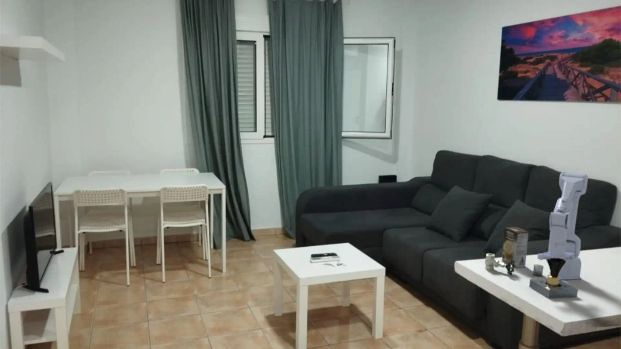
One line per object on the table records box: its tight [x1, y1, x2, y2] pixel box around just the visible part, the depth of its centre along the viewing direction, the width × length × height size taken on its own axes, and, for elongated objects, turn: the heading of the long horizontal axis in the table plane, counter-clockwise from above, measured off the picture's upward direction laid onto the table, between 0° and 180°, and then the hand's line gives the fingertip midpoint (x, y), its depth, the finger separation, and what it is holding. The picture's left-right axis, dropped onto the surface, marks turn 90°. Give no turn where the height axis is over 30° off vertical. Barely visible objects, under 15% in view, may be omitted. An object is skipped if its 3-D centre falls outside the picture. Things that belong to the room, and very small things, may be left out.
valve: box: [484, 253, 516, 276], centre depth 218 cm, size 7×7×12 cm
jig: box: [528, 278, 579, 299], centre depth 196 cm, size 12×12×3 cm
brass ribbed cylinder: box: [546, 274, 559, 287], centre depth 196 cm, size 4×4×6 cm
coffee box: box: [501, 226, 529, 268], centre depth 228 cm, size 9×6×16 cm
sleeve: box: [532, 264, 544, 277], centre depth 215 cm, size 4×4×4 cm
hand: (554, 276), depth 195 cm, fingers closed
